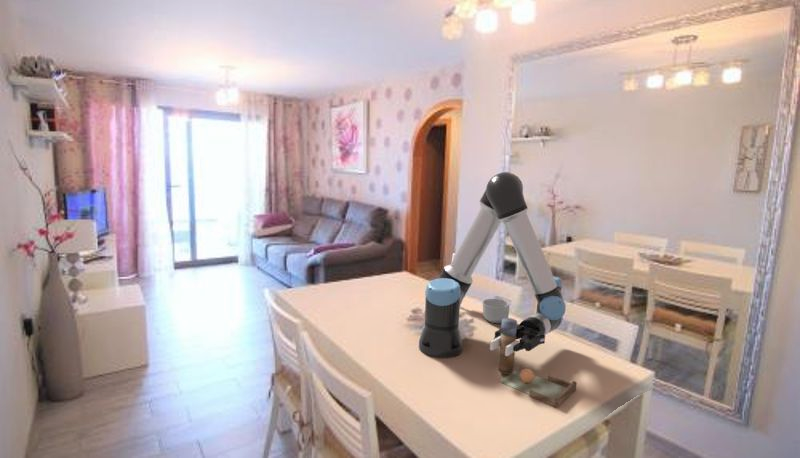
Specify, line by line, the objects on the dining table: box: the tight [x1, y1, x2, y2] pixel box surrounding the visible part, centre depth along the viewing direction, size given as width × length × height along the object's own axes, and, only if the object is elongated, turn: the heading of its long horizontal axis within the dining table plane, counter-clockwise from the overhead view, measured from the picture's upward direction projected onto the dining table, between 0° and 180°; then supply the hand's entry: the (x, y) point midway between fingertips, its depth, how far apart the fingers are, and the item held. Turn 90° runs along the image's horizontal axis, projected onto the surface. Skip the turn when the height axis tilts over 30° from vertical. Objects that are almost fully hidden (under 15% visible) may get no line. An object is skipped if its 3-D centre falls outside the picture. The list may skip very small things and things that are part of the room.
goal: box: [498, 368, 578, 409], centre depth 121 cm, size 18×13×2 cm
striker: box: [498, 317, 518, 375], centre depth 126 cm, size 4×4×16 cm
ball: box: [520, 368, 534, 383], centre depth 123 cm, size 4×4×4 cm
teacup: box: [482, 297, 510, 324], centre depth 173 cm, size 14×11×8 cm
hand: (498, 348), depth 122 cm, fingers closed on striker, 4 cm apart
